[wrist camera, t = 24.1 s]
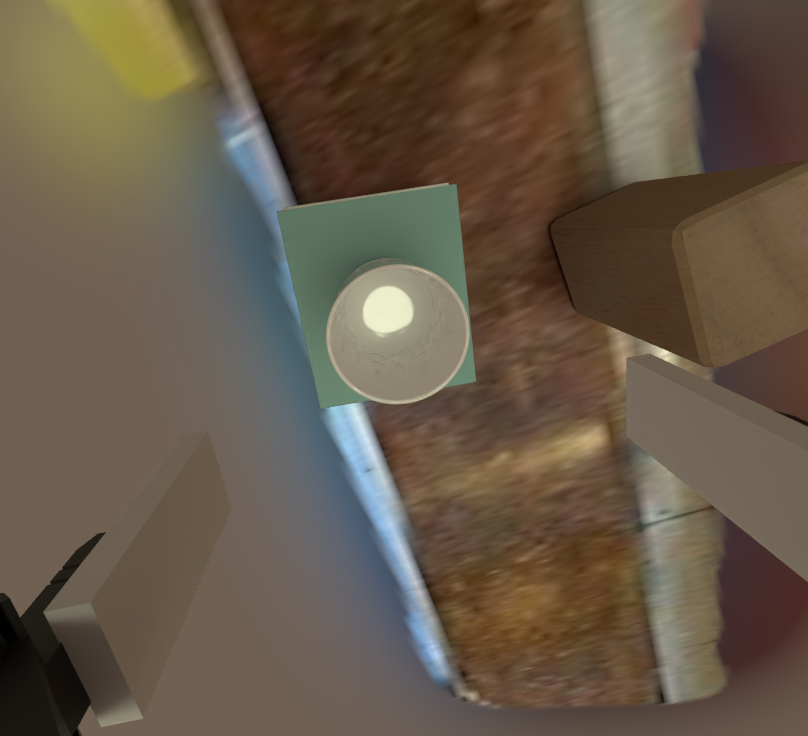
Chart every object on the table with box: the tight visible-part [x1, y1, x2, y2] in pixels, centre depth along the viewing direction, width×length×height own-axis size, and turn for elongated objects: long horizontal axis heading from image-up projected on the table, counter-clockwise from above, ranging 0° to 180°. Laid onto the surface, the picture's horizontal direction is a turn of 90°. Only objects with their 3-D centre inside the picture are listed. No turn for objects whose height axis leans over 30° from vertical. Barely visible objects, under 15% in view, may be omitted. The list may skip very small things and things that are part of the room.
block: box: [550, 161, 808, 367], centre depth 37 cm, size 10×10×20 cm
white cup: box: [326, 257, 470, 404], centre depth 30 cm, size 8×8×10 cm
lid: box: [277, 184, 476, 409], centre depth 36 cm, size 15×13×2 cm
